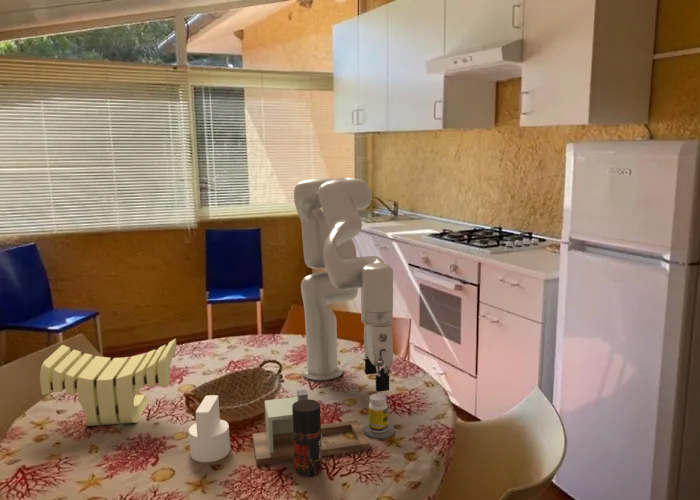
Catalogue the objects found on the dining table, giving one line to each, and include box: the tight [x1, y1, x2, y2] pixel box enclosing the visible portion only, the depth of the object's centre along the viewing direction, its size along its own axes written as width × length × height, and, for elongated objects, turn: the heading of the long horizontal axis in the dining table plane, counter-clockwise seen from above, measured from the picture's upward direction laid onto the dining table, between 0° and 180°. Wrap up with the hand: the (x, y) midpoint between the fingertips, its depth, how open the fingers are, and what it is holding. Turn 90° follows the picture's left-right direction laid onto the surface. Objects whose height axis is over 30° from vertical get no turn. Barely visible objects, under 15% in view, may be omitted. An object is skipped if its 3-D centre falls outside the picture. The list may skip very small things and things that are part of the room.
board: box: [252, 419, 371, 467], centre depth 138 cm, size 12×26×2 cm, turn 103°
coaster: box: [362, 422, 396, 440], centre depth 144 cm, size 8×8×1 cm
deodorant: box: [292, 398, 323, 478], centre depth 127 cm, size 6×6×15 cm
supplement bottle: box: [368, 393, 389, 433], centre depth 144 cm, size 5×5×8 cm
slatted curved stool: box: [39, 338, 177, 427], centre depth 154 cm, size 30×16×18 cm, turn 96°
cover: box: [264, 389, 309, 453], centre depth 136 cm, size 9×10×12 cm
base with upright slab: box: [188, 394, 231, 463], centre depth 135 cm, size 9×9×12 cm
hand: (376, 381), depth 143 cm, fingers open, 9 cm apart
